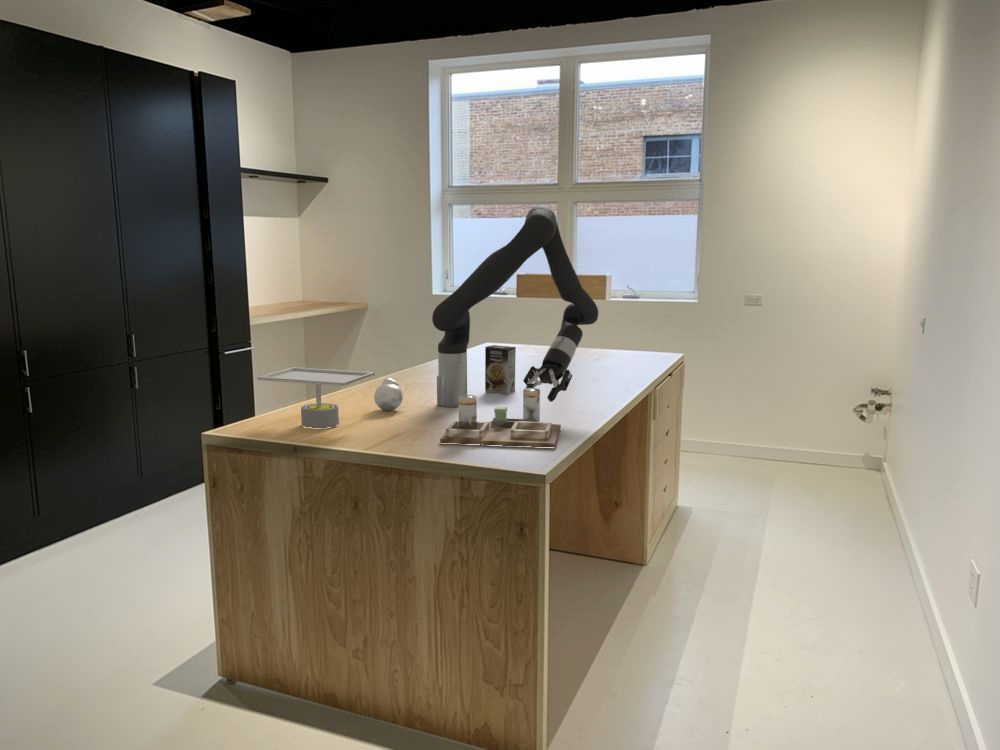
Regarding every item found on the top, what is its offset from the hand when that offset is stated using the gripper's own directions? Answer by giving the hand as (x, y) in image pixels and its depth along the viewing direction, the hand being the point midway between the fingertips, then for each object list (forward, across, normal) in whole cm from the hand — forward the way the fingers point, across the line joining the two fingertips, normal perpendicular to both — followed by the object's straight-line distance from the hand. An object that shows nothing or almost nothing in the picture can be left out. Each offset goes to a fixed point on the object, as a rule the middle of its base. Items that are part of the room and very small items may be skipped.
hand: (537, 398), depth 217 cm
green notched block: (+13, +3, +5) cm, 15 cm away
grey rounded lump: (+16, +46, +6) cm, 49 cm away
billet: (+6, +1, -4) cm, 7 cm away
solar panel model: (+34, +47, +25) cm, 63 cm away
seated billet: (+22, +5, +14) cm, 27 cm away
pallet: (+18, -2, +8) cm, 20 cm away
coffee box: (-15, +36, -24) cm, 46 cm away
